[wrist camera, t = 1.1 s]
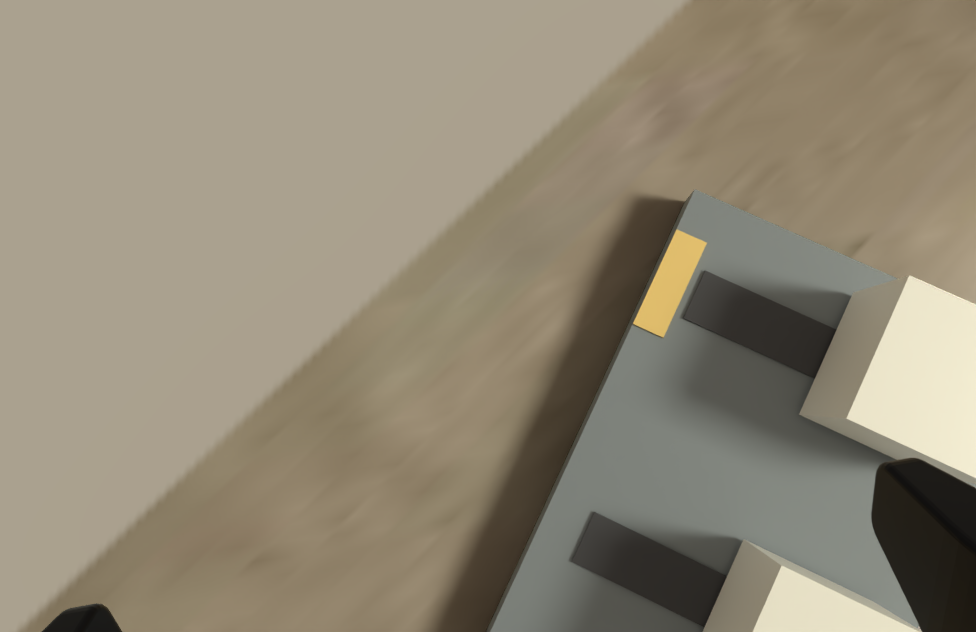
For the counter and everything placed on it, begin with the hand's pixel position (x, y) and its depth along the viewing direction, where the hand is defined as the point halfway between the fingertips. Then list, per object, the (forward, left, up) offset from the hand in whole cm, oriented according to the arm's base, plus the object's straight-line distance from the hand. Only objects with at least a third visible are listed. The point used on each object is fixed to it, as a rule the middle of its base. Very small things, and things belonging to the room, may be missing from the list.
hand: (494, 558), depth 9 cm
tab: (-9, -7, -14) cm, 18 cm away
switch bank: (-7, +1, -16) cm, 18 cm away
